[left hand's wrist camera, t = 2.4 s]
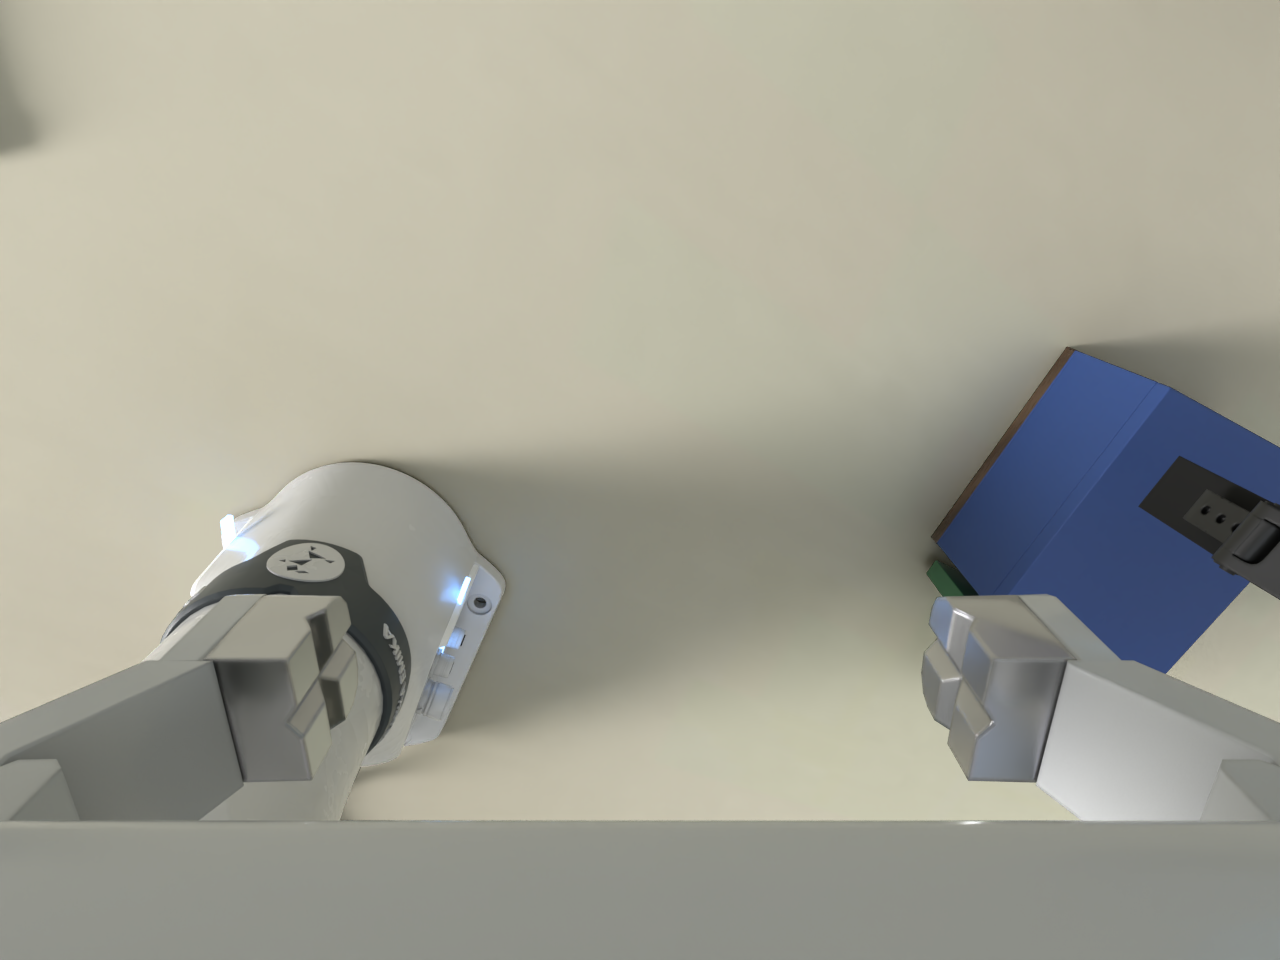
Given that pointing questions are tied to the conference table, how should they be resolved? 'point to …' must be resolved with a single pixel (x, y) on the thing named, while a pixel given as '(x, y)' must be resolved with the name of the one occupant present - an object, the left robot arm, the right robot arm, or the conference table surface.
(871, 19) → the conference table surface
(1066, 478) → the blue block
